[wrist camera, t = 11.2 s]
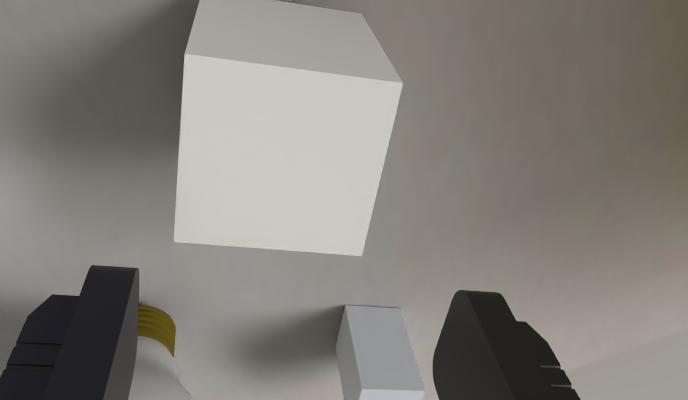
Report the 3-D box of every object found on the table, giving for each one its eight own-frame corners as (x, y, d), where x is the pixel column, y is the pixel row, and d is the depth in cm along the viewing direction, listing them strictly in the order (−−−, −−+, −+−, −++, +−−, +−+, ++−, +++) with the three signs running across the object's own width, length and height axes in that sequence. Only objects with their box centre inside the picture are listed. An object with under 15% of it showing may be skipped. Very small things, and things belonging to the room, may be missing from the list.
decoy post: (399, 308, 29) (425, 390, 25) (387, 349, 30) (410, 434, 26) (345, 305, 29) (361, 388, 24) (335, 347, 30) (349, 433, 26)
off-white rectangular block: (361, 13, 21) (402, 83, 15) (334, 152, 23) (361, 255, 18) (202, -12, 20) (184, 53, 14) (192, 137, 22) (173, 242, 17)
